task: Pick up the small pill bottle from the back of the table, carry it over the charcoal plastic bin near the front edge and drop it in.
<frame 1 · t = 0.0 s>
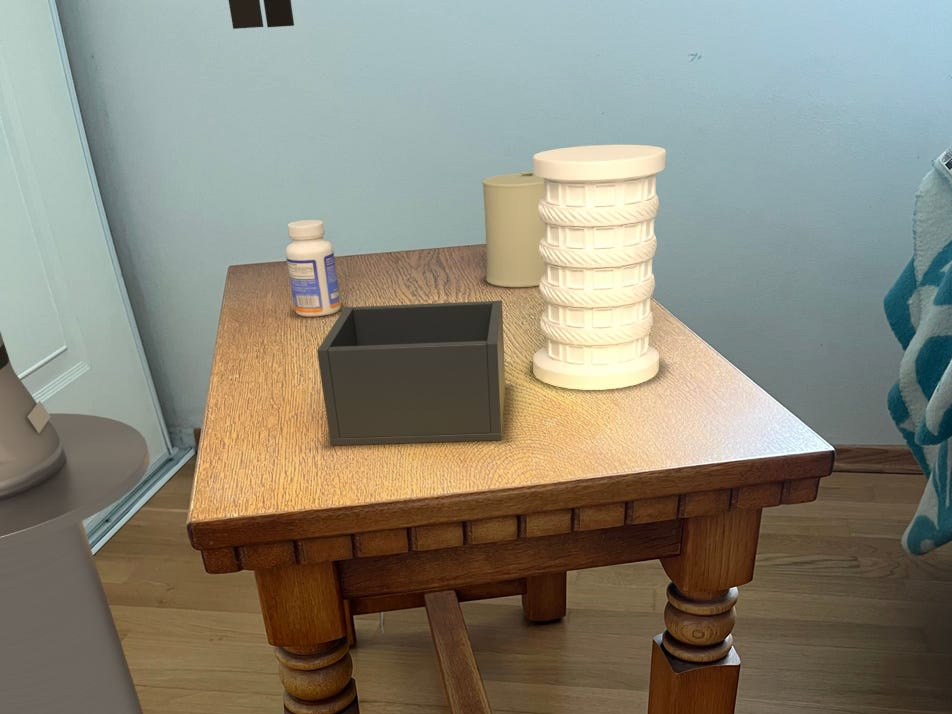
hand: (265, 27, 93), 28 cm above the table, tool pointing down, fingers open, 13 cm apart
bin: (423, 415, 79), on the table
can: (522, 280, 119), on the table
decorative container: (595, 371, 87), on the table
pill bottle: (318, 313, 111), on the table
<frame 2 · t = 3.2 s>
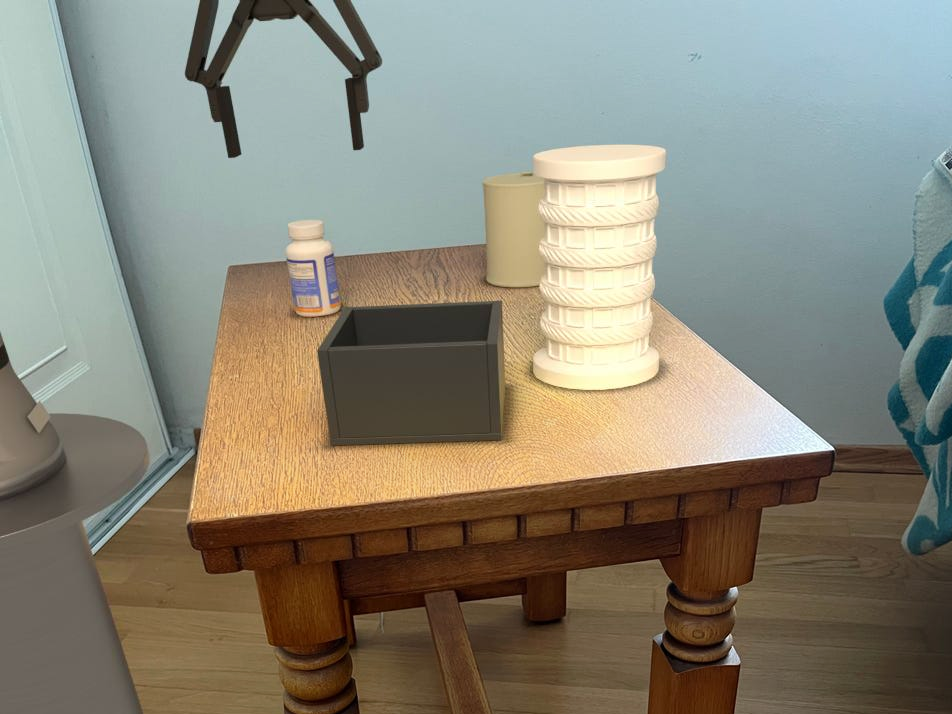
hand: (296, 153, 101), 17 cm above the table, tool pointing down, fingers open, 13 cm apart
nothing on the table moved.
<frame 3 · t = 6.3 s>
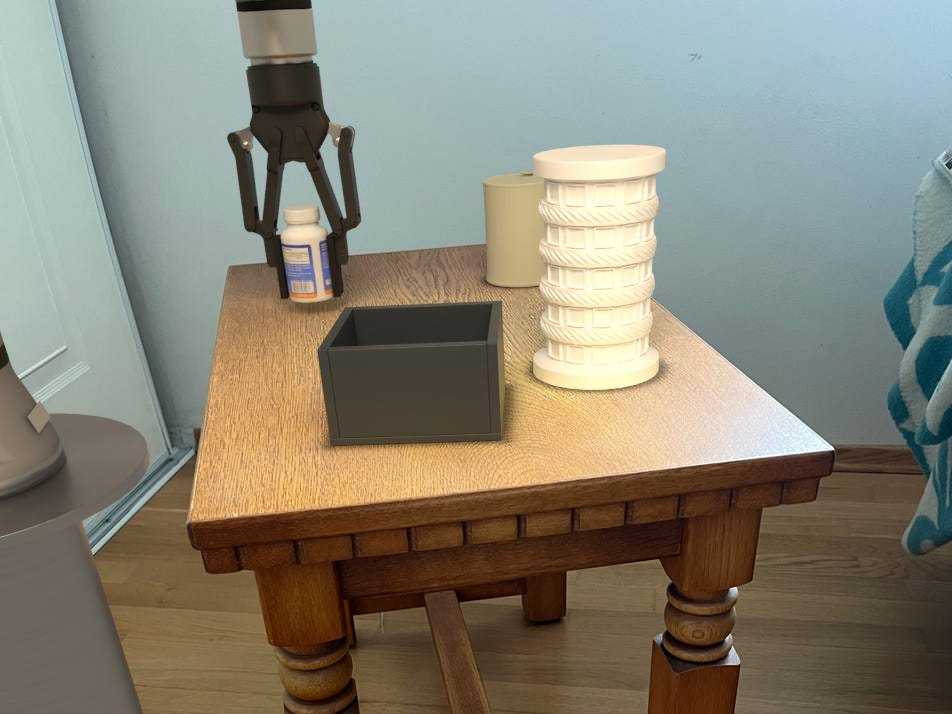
hand: (312, 295, 109), 2 cm above the table, tool pointing down, fingers closed on pill bottle, 5 cm apart
pill bottle: (313, 299, 109), point 1 cm above the table, touching gripper
everything else where it was.
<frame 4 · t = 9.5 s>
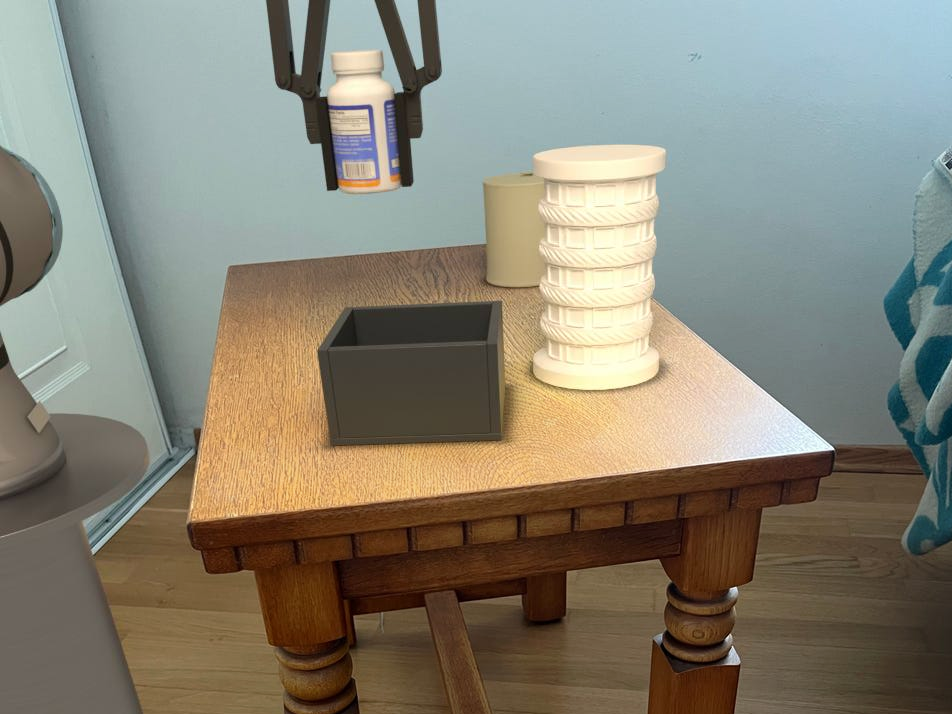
hand: (370, 185, 77), 17 cm above the table, tool pointing down, fingers closed on pill bottle, 5 cm apart
pill bottle: (371, 192, 78), point 16 cm above the table, touching gripper
everything else where it was.
when the fingers open (7 cm above the table, at t = 12.7 s): pill bottle drops 6 cm, resting on bin.
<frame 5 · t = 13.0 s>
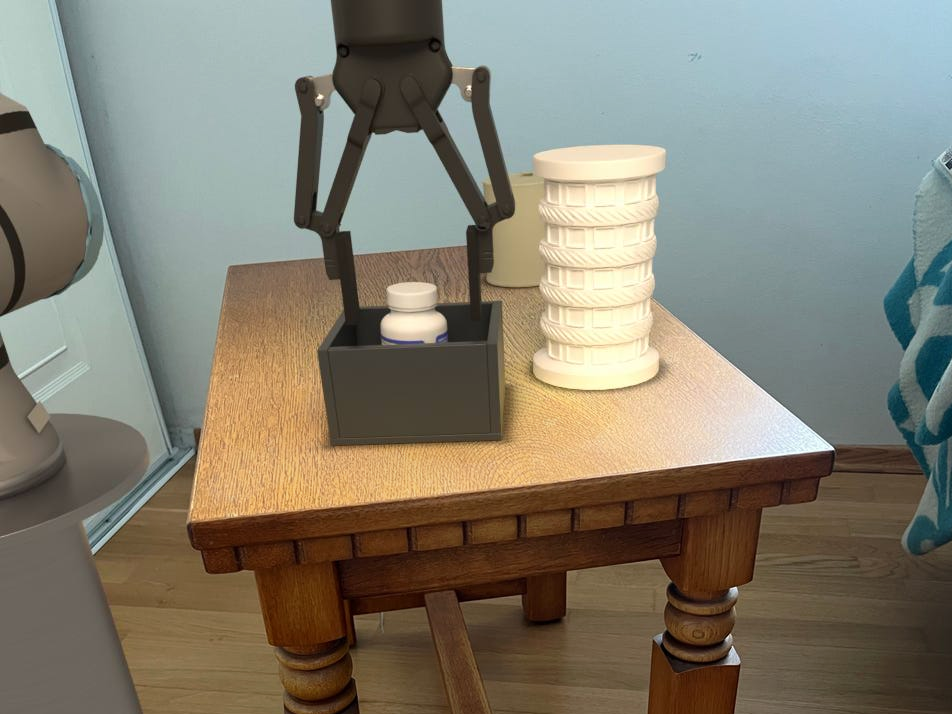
hand: (414, 318, 75), 8 cm above the table, tool pointing down, fingers open, 9 cm apart
pill bottle: (418, 409, 79), point 1 cm above the table, touching bin
everything else where it was.
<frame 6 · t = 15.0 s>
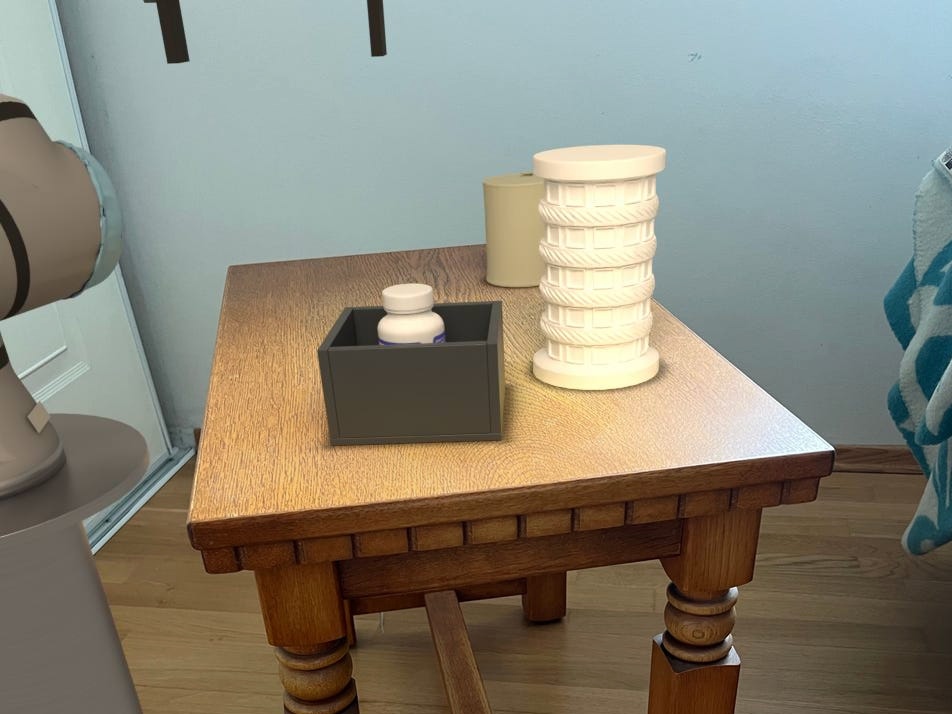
hand: (278, 60, 63), 26 cm above the table, tool pointing down, fingers open, 13 cm apart
nothing on the table moved.
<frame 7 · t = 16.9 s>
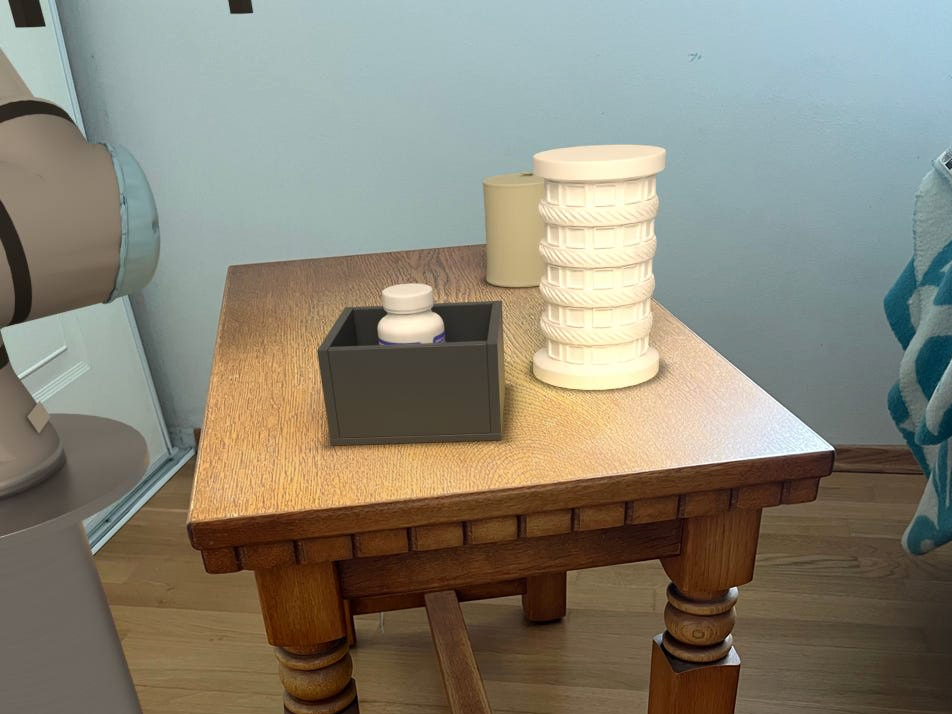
hand: (136, 21, 59), 29 cm above the table, tool pointing down, fingers open, 13 cm apart
nothing on the table moved.
at the end: pill bottle inside the target area in the bin (0.4 cm from its centre), point 0.4 cm above the bin's base; the gripper is holding nothing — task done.
